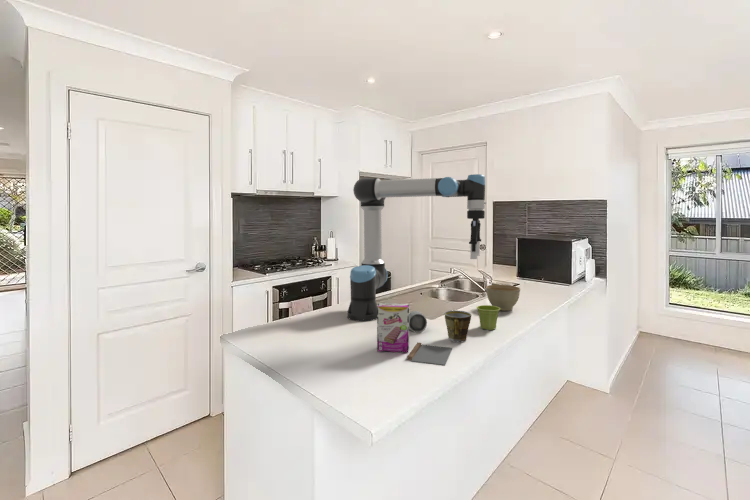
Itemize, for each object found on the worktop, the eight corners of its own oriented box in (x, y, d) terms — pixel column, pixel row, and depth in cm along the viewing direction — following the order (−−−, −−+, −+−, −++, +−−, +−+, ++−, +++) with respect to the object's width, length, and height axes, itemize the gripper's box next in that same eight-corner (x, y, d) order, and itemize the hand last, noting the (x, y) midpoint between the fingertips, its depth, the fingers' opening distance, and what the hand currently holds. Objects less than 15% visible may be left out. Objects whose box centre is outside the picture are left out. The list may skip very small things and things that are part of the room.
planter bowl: (524, 312, 181) (525, 290, 180) (491, 313, 181) (491, 290, 180) (513, 304, 197) (513, 284, 196) (481, 305, 197) (482, 284, 196)
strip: (407, 359, 125) (407, 356, 125) (417, 345, 138) (417, 342, 138) (411, 360, 124) (411, 356, 124) (421, 346, 137) (421, 342, 137)
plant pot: (473, 325, 162) (473, 305, 162) (494, 324, 163) (494, 304, 162) (481, 331, 153) (481, 310, 152) (503, 331, 154) (504, 310, 153)
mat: (411, 361, 123) (411, 360, 123) (422, 345, 138) (422, 344, 138) (444, 365, 120) (444, 364, 120) (452, 348, 135) (452, 347, 135)
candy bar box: (377, 352, 132) (376, 306, 130) (378, 347, 137) (377, 302, 135) (409, 353, 131) (409, 306, 129) (409, 348, 136) (409, 303, 134)
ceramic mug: (423, 326, 162) (423, 308, 161) (427, 332, 153) (426, 313, 153) (398, 327, 161) (398, 309, 160) (401, 333, 153) (400, 314, 152)
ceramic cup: (445, 334, 151) (445, 309, 150) (471, 336, 148) (472, 311, 147) (441, 345, 138) (442, 318, 137) (470, 347, 135) (470, 320, 134)
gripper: (482, 209, 155) (481, 260, 157) (486, 209, 179) (485, 254, 181) (463, 209, 158) (463, 260, 160) (470, 210, 181) (469, 254, 183)
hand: (475, 257), depth 170 cm, fingers open, 13 cm apart
